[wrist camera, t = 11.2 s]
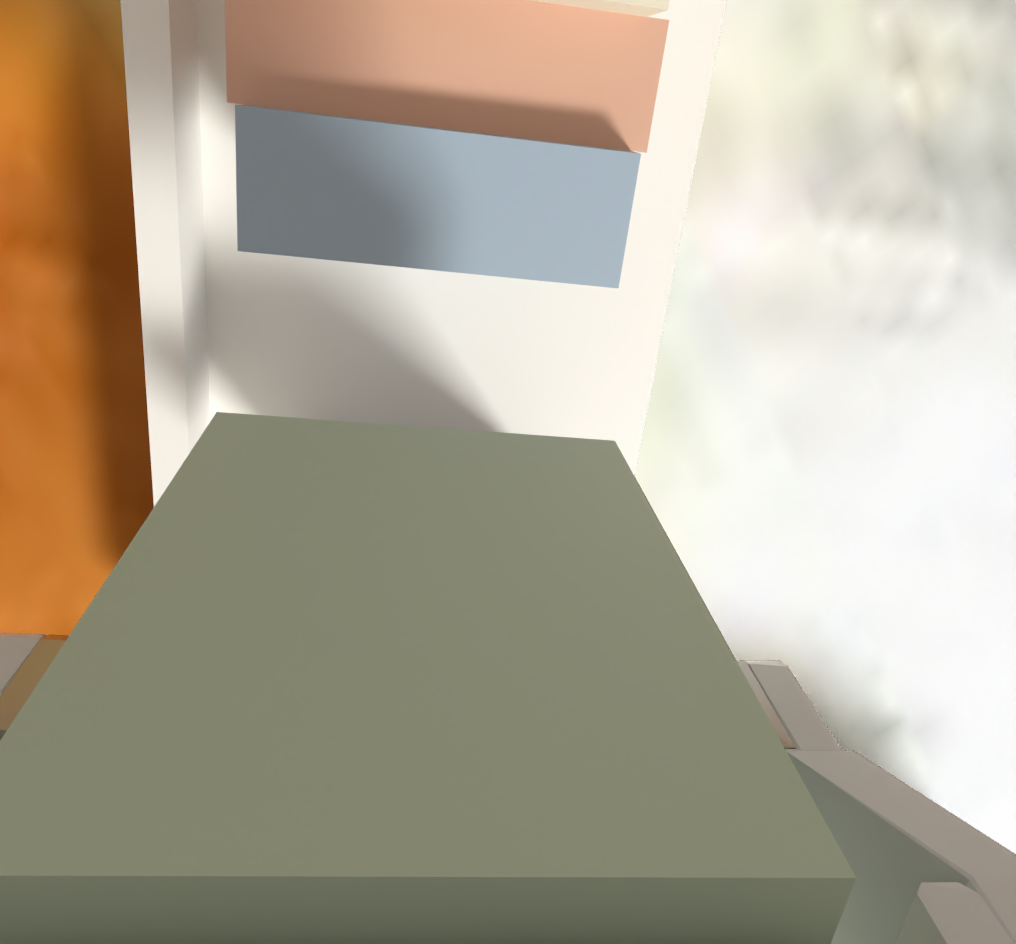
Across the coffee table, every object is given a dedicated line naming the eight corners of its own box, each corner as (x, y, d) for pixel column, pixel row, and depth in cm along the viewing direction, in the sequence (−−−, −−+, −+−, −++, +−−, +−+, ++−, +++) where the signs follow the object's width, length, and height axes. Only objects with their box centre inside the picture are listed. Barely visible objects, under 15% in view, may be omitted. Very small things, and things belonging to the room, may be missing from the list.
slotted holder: (725, -65, 22) (934, -175, 13) (593, 638, 30) (661, 865, 22) (160, -153, 20) (-59, -352, 11) (195, 621, 29) (91, 860, 20)
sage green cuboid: (615, 440, 13) (857, 877, 6) (577, 652, 15) (728, 1203, 7) (216, 412, 12) (-88, 873, 5) (223, 638, 14) (0, 1240, 7)
